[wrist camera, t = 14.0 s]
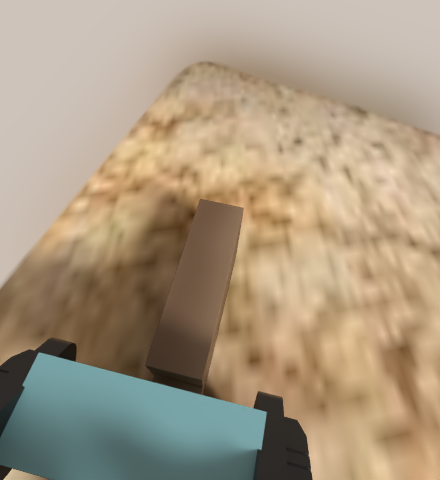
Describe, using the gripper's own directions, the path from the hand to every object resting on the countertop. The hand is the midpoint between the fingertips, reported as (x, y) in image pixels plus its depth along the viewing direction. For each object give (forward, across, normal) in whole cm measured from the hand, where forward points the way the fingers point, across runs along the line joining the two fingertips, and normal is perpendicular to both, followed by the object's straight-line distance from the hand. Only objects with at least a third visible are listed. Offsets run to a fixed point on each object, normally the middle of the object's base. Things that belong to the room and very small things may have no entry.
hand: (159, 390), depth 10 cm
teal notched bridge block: (+3, 0, +5) cm, 6 cm away
